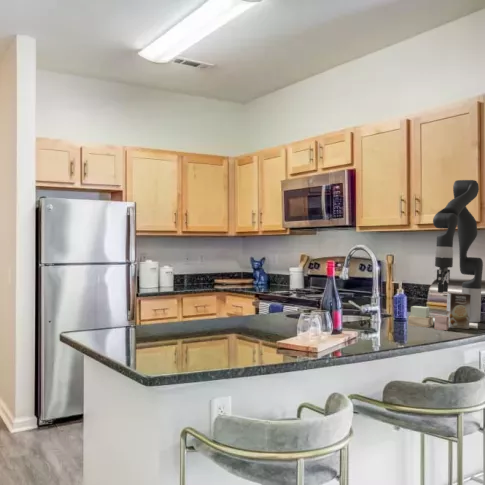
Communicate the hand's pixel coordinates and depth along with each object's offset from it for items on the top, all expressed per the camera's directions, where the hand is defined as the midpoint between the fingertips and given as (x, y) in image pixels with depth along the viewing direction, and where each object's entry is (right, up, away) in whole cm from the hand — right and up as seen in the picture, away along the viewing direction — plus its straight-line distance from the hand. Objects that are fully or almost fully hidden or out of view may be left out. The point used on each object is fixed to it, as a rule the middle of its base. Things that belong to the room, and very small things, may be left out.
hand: (442, 292), depth 246 cm
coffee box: (+10, -18, +9) cm, 22 cm away
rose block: (-1, -17, 0) cm, 17 cm away
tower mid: (-7, -13, +11) cm, 18 cm away
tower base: (-7, -17, +11) cm, 21 cm away
